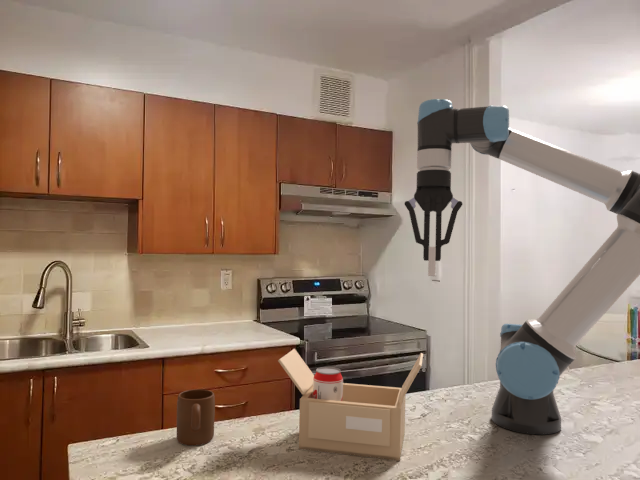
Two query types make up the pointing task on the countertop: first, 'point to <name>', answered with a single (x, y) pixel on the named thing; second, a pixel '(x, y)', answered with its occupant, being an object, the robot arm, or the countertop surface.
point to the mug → (195, 417)
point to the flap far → (297, 370)
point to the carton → (354, 422)
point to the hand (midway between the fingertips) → (431, 275)
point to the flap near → (411, 377)
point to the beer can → (328, 384)
